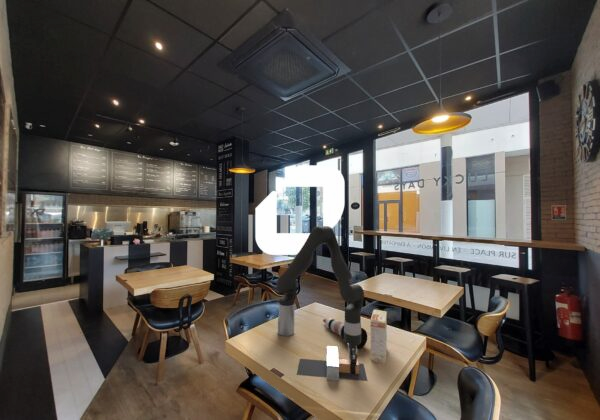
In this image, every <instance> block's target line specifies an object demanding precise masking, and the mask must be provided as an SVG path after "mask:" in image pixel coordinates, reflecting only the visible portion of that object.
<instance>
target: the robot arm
mask: <svg viewBox="0 0 600 420" xmlns="http://www.w3.org/2000/svg"><path fill="white" fill-rule="evenodd" d="M321 245H326V246H327V248H328V250H329V253H330V266H331V269H332V271H333V274H334V276H335V278H336V279H337V282H338V289H339V294H340V296H341V298H342V300H343V301H344V302H345V303H347V304H348V305H347V306H346V307H345V308H344V322H343V323H344V340H343V341H344V342H345V343H346V344H347V350H348V351H347V353H348V360H350V373H355V368H356V365H357V364H356V363H357V360H358V348H357V345H359V344H360V343H361V328H362V318H361V316H362V315H361V314H362V313H361V312H362V308H363V303H364V300H365V292H364V290H363V287H362V286H361V285H359V284H350V281H351V280H352V278H353V275H352V273H351V271H350V269H349V267H348V265H347V263H346V262H345V259H344V257H343V254H342V252H341V247H340V245H339V243H338V239H337V237H336V234H335V231H334V229H333V228H332V227H330V226H328V225H327V226H326V225H317V226H314V227H313V228H312V230H311V232H310V233H309V234H308V237H307V239H306V240H305V242H304V244H303V245H302V247H301V249H300V250H299V251H298V252H297V254H296V255H295V256H294V258H293V260H292V261H291V263H290V264H289V265H288V266H287V268H286V269H285V271H283V272H282V274H281V275H280V276H279V277H278V279H277V280H276V284H275V288H276V290H277V292H278V293H280V294H283V295H282V296H281V297H279V300H278V302H279V303H278V317H277V335H280V336H283V337H290V336H293V335H294V334H295V315H296V314H295V312H296V311H295V306H296V305H295V302H296V299H297V288H298V287H297V286H298V285H297V279H296V278H298V277H299V276H302V274H304V273H305V272H306V271H307V270H308V269H309V267H310V266H311V265H312V263H313V261H314V252H315V251H316V249H317V248H318V247H319V246H321Z"/></svg>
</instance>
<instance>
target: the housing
mask: <svg viewBox="0 0 600 420" xmlns="http://www.w3.org/2000/svg"><path fill="white" fill-rule="evenodd" d="M338 359H339V349H338V346H333V345H332V346H331V345H327V346H326V361H327V377H326V381H335V382H340V381H339V380H340V379H339V360H338Z"/></svg>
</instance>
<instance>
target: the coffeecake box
mask: <svg viewBox="0 0 600 420" xmlns="http://www.w3.org/2000/svg"><path fill="white" fill-rule="evenodd" d="M387 315H388V311H384V310H379V309H373V310H372V314H371V317H370V361H373V362H375V363H380V364H384V365H385V364H386V361H387V352H388V351H387V349H388V347H387V346H388V345H387V340H388V339H387V338H388V334H387V332H388V331H387V328H388V327H387V325H388V322H387V319H388V318H387V317H388V316H387Z"/></svg>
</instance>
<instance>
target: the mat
mask: <svg viewBox="0 0 600 420" xmlns="http://www.w3.org/2000/svg"><path fill="white" fill-rule="evenodd" d="M358 363H359V362H358ZM296 371H297V372H296V375H297V376H306V377H307V376H308V377H316V378H317V377H321V378H327V360H319V359H310V358H308V359H307V358H299V361H298V365H297V370H296ZM340 379H343V380H351V381H354V380H355V381H362V382H368V376H367V372H366V368H365V364H364V363H359V374H355V373H343V372H339V380H340Z"/></svg>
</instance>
